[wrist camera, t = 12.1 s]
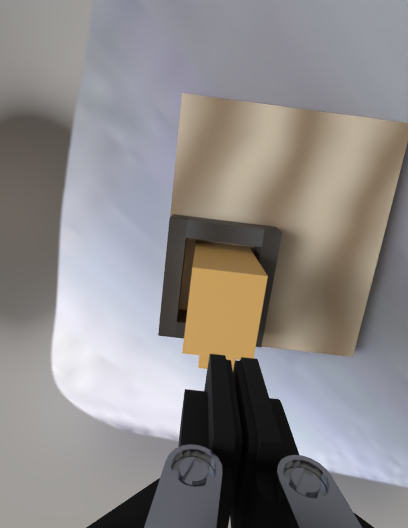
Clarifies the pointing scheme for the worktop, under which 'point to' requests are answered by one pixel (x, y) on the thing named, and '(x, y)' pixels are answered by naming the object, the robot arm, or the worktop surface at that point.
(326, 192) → the board
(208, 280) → the plug
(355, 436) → the worktop surface
